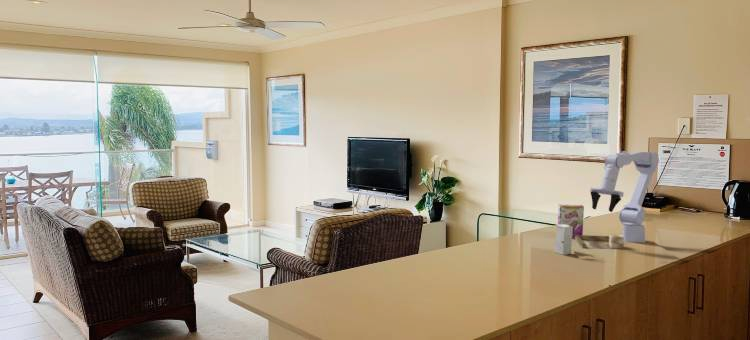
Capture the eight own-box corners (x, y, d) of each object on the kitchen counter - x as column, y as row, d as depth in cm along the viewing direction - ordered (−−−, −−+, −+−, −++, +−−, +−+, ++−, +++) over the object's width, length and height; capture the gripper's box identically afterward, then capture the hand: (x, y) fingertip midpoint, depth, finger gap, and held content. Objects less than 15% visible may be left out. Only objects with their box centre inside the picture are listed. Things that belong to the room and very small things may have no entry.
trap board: (615, 243, 274) (615, 236, 273) (626, 252, 254) (626, 245, 254) (574, 241, 277) (575, 235, 276) (582, 250, 257) (582, 243, 257)
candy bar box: (559, 239, 283) (560, 205, 281) (556, 237, 288) (557, 203, 286) (583, 239, 282) (584, 205, 280) (580, 237, 287) (581, 204, 285)
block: (620, 246, 261) (621, 234, 261) (623, 248, 256) (623, 237, 256) (608, 245, 262) (609, 234, 262) (611, 247, 257) (611, 236, 257)
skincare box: (554, 252, 254) (555, 224, 253) (563, 251, 255) (564, 224, 254) (563, 255, 248) (564, 226, 247) (572, 254, 249) (573, 226, 248)
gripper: (590, 176, 263) (582, 205, 261) (621, 179, 252) (613, 210, 251) (597, 180, 268) (589, 209, 266) (628, 184, 257) (620, 214, 255)
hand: (602, 210), depth 259 cm, fingers open, 7 cm apart
